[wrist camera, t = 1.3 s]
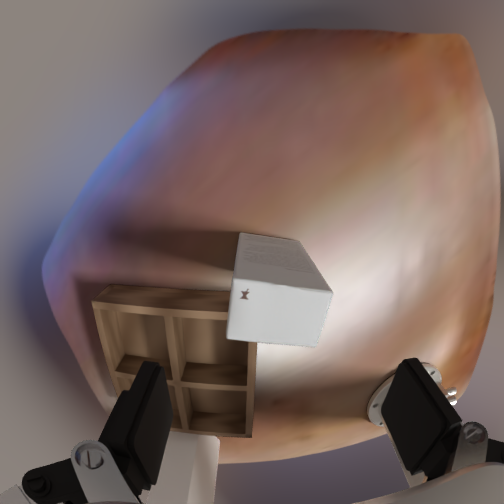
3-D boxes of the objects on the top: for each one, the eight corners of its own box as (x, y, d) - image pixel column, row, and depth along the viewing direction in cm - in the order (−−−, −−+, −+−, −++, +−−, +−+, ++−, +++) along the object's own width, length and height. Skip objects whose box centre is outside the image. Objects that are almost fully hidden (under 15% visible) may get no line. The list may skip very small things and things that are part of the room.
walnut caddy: (257, 292, 29) (258, 313, 25) (251, 413, 34) (251, 437, 30) (110, 284, 29) (91, 300, 24) (136, 401, 34) (127, 422, 30)
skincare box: (233, 272, 28) (222, 339, 17) (239, 231, 27) (230, 276, 16) (293, 281, 29) (317, 350, 17) (301, 240, 27) (335, 289, 16)
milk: (167, 424, 35) (132, 547, 14) (202, 418, 35) (177, 556, 13) (188, 445, 37) (164, 560, 15) (221, 441, 36) (208, 565, 15)
